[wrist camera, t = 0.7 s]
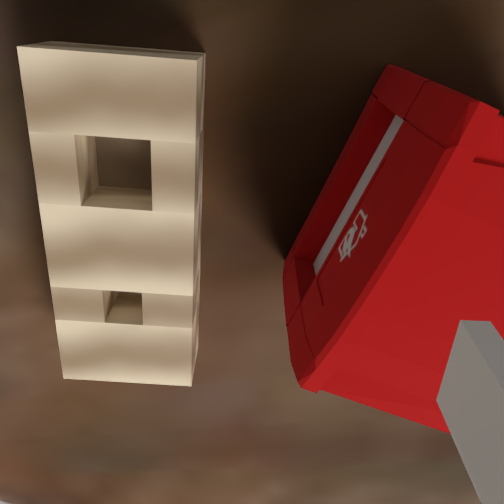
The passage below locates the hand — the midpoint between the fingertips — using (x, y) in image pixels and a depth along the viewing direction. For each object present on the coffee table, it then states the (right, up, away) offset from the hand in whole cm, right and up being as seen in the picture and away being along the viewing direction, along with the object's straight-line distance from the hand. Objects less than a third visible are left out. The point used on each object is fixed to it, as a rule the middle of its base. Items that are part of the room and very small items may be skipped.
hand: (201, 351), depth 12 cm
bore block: (-8, +5, +24) cm, 26 cm away
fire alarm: (+12, +7, +23) cm, 27 cm away
